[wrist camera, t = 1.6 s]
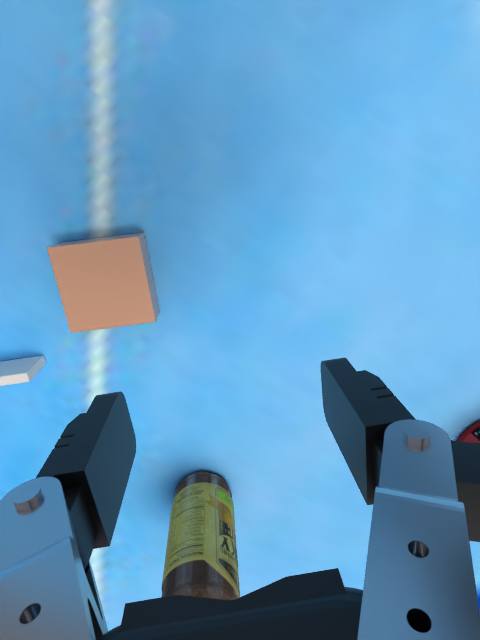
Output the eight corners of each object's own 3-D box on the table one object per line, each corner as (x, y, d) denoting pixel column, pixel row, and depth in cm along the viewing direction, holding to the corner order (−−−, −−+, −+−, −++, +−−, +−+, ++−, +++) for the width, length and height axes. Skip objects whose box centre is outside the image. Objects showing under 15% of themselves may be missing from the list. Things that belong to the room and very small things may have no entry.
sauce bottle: (232, 512, 43) (250, 769, 24) (175, 516, 42) (147, 780, 23) (231, 464, 40) (249, 705, 22) (171, 468, 40) (136, 716, 21)
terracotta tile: (61, 242, 32) (46, 247, 29) (144, 231, 32) (138, 236, 30) (82, 320, 35) (70, 332, 32) (160, 310, 35) (155, 321, 32)
